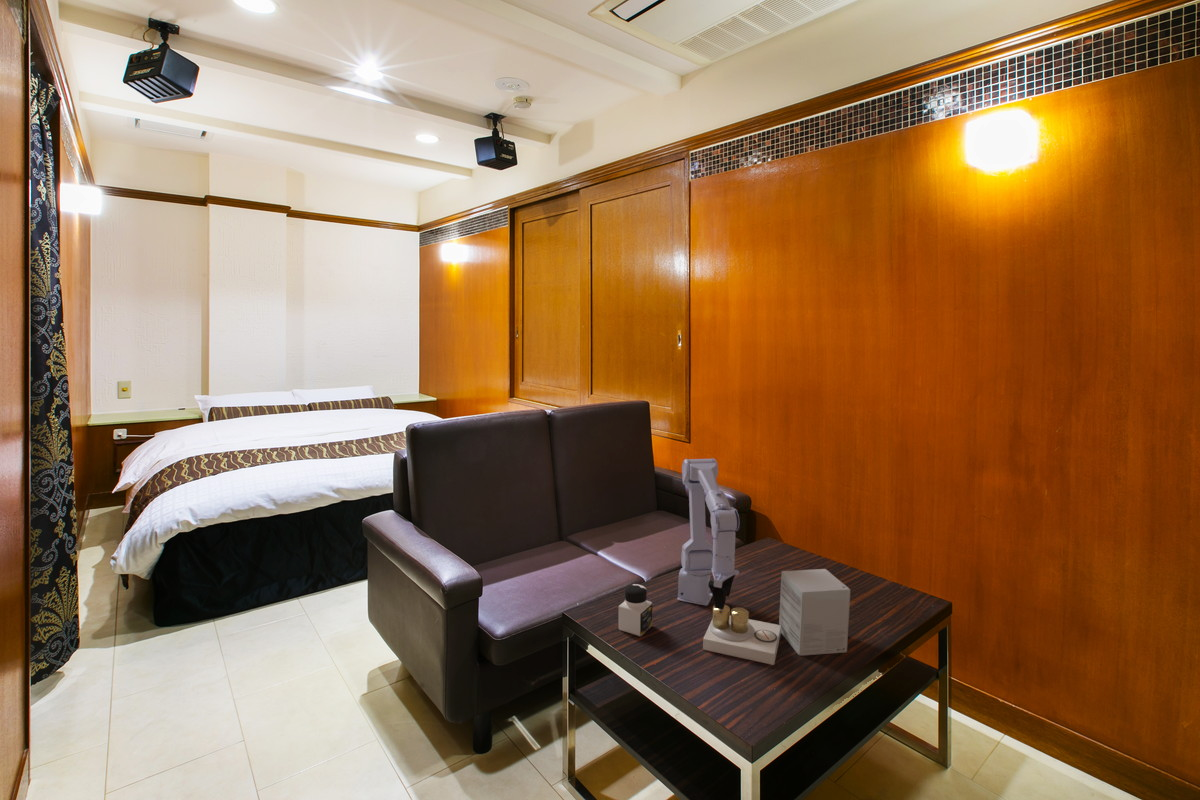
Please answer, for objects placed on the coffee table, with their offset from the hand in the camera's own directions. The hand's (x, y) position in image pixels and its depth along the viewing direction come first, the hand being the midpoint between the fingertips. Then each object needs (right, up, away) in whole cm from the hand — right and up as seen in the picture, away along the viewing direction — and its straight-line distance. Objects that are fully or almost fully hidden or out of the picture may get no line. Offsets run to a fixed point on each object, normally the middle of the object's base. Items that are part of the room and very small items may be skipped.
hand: (722, 601), depth 157 cm
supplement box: (+24, -11, 0) cm, 26 cm away
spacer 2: (+4, -7, -1) cm, 8 cm away
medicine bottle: (-23, -10, +7) cm, 26 cm away
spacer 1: (0, -7, +1) cm, 7 cm away
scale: (+5, -11, -1) cm, 12 cm away
